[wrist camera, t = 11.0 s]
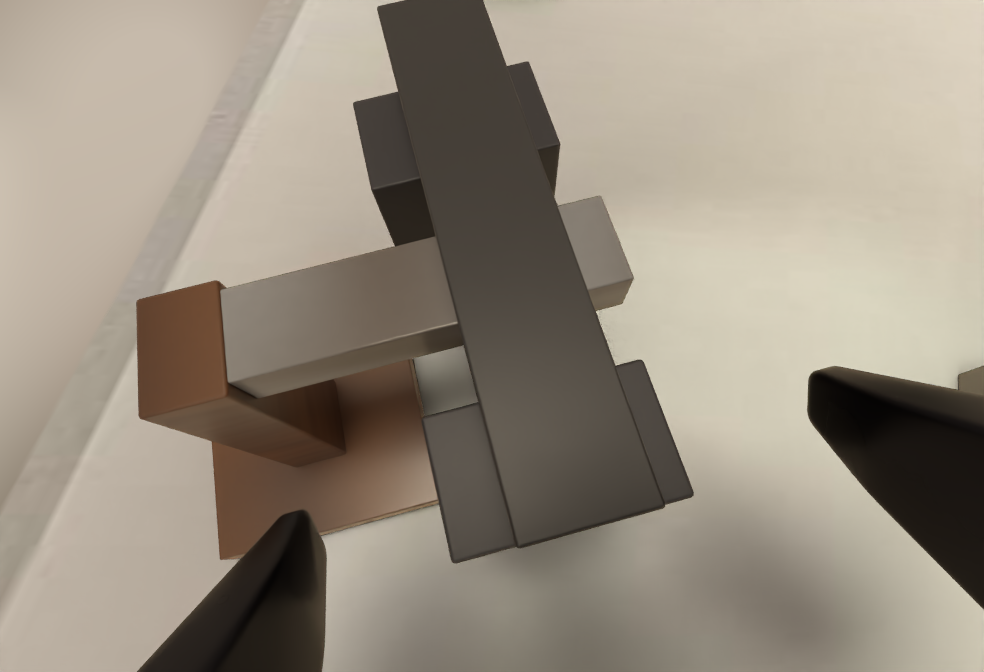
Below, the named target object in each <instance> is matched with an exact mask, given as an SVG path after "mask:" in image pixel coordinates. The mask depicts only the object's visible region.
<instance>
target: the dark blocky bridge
mask: <svg viewBox="0 0 984 672" xmlns="http://www.w3.org/2000/svg"><path fill="white" fill-rule="evenodd" d="M377 11H378V15H379V18H380V22H381V26H382V30H383V34H384V38H385V42H386V46H387V49H388V53H389V57H390V61H391V65H392V69H393V73H394V77H395V80H396V84H397V88H398V92H395V93H391V94H387V95H382V96H378V97H374V98H369V99H365V100H361V101H357V102H354V103H353V106H354V111H355V116H356V120H357V125H358V130H359V134H360V139H361V144H362V148H363V153H364V158H365V162H366V167H367V172H368V176H369V181H370V186H371V190H372V192H373V195H374V197H375V199H376V202H377V204H378V207H379V209H380V211H381V214H382V216H383V219H384V221H385V223H386V226H387V228H388V230H389V233H390V235H391V238H392V240H393V242H394V245H395V246H399V245H403V244H407V243H411V242H415V241H419V240H423V239H427V238H431V237H435V236H436V239H437V243H438V247H439V251H440V255H441V259H442V263H443V267H444V271H445V274H446V278H447V282H448V286H449V290H450V294H451V298H452V302H453V305H454V309H455V313H456V317H457V321H458V325H459V329H460V333H461V336H462V340H463V344H464V348H465V352H466V356H467V360H468V364H469V367H470V371H471V375H472V379H473V383H474V387H475V391H476V395H477V398H478V403H474V404H470V405H466V406H463V407H459V408H455V409H451V410H447V411H444V412H440V413H436V414H432V415H429V416H425V417H423V418H422V421H421V422H422V427H423V431H424V436H425V441H426V445H427V450H428V455H429V459H430V464H431V469H432V473H433V478H434V482H435V487H436V492H437V496H438V501H439V506H440V510H441V515H442V520H443V524H444V529H445V534H446V538H447V543H448V548H449V552H450V557H451V560H452V562H453V563H460V562H464V561H467V560H471V559H474V558H478V557H481V556H485V555H489V554H492V553H496V552H499V551H503V550H506V549H510V548H513V547H517V548H524V547H528V546H531V545H535V544H538V543H542V542H545V541H549V540H552V539H556V538H560V537H563V536H567V535H570V534H574V533H577V532H581V531H584V530H588V529H591V528H595V527H599V526H602V525H606V524H609V523H613V522H616V521H620V520H623V519H627V518H631V517H634V516H638V515H641V514H645V513H648V512H652V511H655V510H659V509H663V508H664V507H665V505H666V504H670V503H673V502H677V501H681V500H684V499H688V498H691V497H692V496H693V495H694V492H693V489H692V487H691V484H690V481H689V479H688V476H687V474H686V471H685V468H684V466H683V463H682V461H681V458H680V455H679V453H678V450H677V448H676V445H675V442H674V440H673V437H672V435H671V432H670V429H669V427H668V424H667V421H666V419H665V416H664V414H663V411H662V408H661V406H660V403H659V401H658V398H657V395H656V393H655V390H654V388H653V385H652V382H651V380H650V377H649V375H648V372H647V369H646V367H645V364H644V362H643V361H642V360H635V361H632V362H628V363H624V364H620V365H617V366H615V363H614V361H613V358H612V355H611V352H610V350H609V347H608V344H607V341H606V339H605V336H604V333H603V330H602V328H601V325H600V322H599V319H598V316H597V314H596V311H595V308H594V305H593V303H592V300H591V297H590V294H589V292H588V289H587V286H586V283H585V281H584V278H583V275H582V272H581V270H580V267H579V264H578V261H577V259H576V256H575V253H574V250H573V248H572V245H571V242H570V239H569V236H568V234H567V231H566V228H565V225H564V223H563V220H562V217H561V214H560V212H559V209H558V206H557V203H556V201H555V198H554V195H555V186H556V177H557V168H558V159H559V150H560V142H559V139H558V137H557V134H556V131H555V129H554V126H553V124H552V121H551V118H550V116H549V113H548V111H547V108H546V105H545V103H544V100H543V98H542V95H541V92H540V90H539V87H538V85H537V82H536V79H535V77H534V74H533V72H532V69H531V66H530V64H529V62H523V63H519V64H515V65H510V66H507V65H506V63H505V60H504V57H503V54H502V52H501V49H500V46H499V43H498V41H497V38H496V35H495V32H494V30H493V27H492V24H491V21H490V19H489V16H488V13H487V10H486V8H485V5H484V2H483V0H404V1H399V2H395V3H391V4H386V5H382V6H378V8H377Z"/></svg>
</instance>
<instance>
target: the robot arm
mask: <svg viewBox="0 0 984 672" xmlns="http://www.w3.org/2000/svg"><path fill="white" fill-rule="evenodd" d="M807 412H808V417H809V419H810V421H811V423H812V425H813V426H814V427H815V429H816V430H817V431H818V432H819V433H820V435H821V436H822V437H823V438H824V440H825V441H826V442H827V443H828V444H829V446H830V447H831V448H832V449H833V451H834V452H835V453H836V454H837V455H838V457H839V458H840V459H841V460H842V462H843V463H844V464H845V465H846V466H847V468H848V469H849V470H850V471H851V473H852V474H853V475H854V476H855V478H856V479H857V480H858V481H859V482H860V484H861V485H862V486H863V487H864V488H865V489H866V490H867V492H868V493H869V494H870V495H871V496H872V497H873V498H874V499H875V500H876V501H877V502H878V503H879V504H880V505H881V506H882V507H883V508H884V509H885V510H886V511H887V512H888V513H889V514H890V515H891V517H892V518H893V519H894V520H895V521H896V522H897V523H898V524H899V525H900V526H901V527H902V528H903V529H904V530H905V531H906V532H907V533H908V534H909V535H910V536H911V537H912V538H913V539H914V540H915V541H916V542H917V543H918V544H919V545H920V546H921V547H922V548H923V549H924V550H925V551H926V552H927V553H928V554H929V555H930V556H931V557H932V558H933V559H934V560H935V561H936V562H937V563H938V564H939V565H940V566H941V567H942V568H943V569H944V570H945V571H946V572H947V573H948V574H949V575H950V576H951V577H952V578H953V579H954V580H955V581H956V582H957V583H958V584H959V585H960V586H961V587H962V588H963V589H964V590H965V591H966V592H967V593H968V594H969V595H970V596H971V597H972V598H973V599H974V600H975V601H976V602H977V603H978V604H979V605H980V606H981V607H982V608H983V609H984V395H982V394H977V393H971V392H966V391H961V390H956V389H951V388H946V387H941V386H936V385H931V384H925V383H920V382H915V381H910V380H905V379H900V378H895V377H890V376H884V375H879V374H874V373H869V372H864V371H859V370H854V369H849V368H844V367H838V366H832V367H828V368H824V369H821V370H817V371H814V372H813V373H811V375H810V377H809V381H808V406H807ZM326 565H327V556H326V549H325V545H324V543H323V540H322V538H321V536H320V534H319V532H318V530H317V527H316V525H315V523H314V521H313V519H312V517H311V515H310V513H309V512H308V511H307V510H305V509H301V510H297V511H293V512H290V513H286V514H283V515H281V516H280V517H279V518H278V519H277V520H276V521H275V522H274V523H273V524H272V525H271V526H270V528H269V529H268V530H267V531H266V532H265V533H264V534H263V535H262V536H261V537H260V538H259V540H258V541H257V542H256V543H255V544H254V545H253V546H252V547H251V548H250V549H249V550H248V551H247V553H246V554H245V555H244V556H243V557H242V558H241V559H240V560H239V561H238V562H237V563H236V565H235V566H234V567H233V568H232V569H231V570H230V571H229V572H228V573H227V574H226V575H225V577H224V578H223V579H222V580H221V581H220V582H219V583H218V584H217V585H216V586H215V587H214V588H213V590H212V591H211V592H210V593H209V594H208V595H207V596H206V597H205V598H204V599H203V600H202V602H201V603H200V604H199V605H198V606H197V607H196V608H195V609H194V610H193V611H192V612H191V614H190V615H189V616H188V617H187V618H186V619H185V620H184V621H183V622H182V623H181V624H180V625H179V627H178V628H177V629H176V630H175V631H174V632H173V633H172V634H171V635H170V636H169V637H168V638H167V640H166V641H165V642H164V643H163V644H162V645H161V646H160V647H159V648H158V649H157V650H156V652H155V653H154V654H153V655H152V656H151V657H150V658H149V659H148V660H147V661H146V662H145V663H144V665H143V666H142V667H141V668H140V669H139V670H138V671H137V672H322V666H323V657H324V647H325V619H326Z"/></svg>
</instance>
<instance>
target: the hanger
mask: <svg viewBox="0 0 984 672" xmlns="http://www.w3.org/2000/svg"><path fill="white" fill-rule="evenodd" d="M558 209H559V212H560V214H561V217H562V220H563V223H564V225H565V228H566V231H567V234H568V236H569V239H570V242H571V245H572V248H573V250H574V253H575V256H576V259H577V261H578V264H579V267H580V270H581V272H582V275H583V278H584V281H585V283H586V286H587V289H588V292H589V294H590V297H591V300H592V303H593V305H594V308H595V311H597V310H601V309H605V308H609V307H612V306H616V305H620V304H622V303H623V301H624V299H625V297H626V294H627V292H628V290H629V288H630V286H631V283H632V281H633V279H634V277H633V274H632V272H631V269H630V267H629V264H628V262H627V259H626V257H625V254H624V252H623V249H622V247H621V244H620V242H619V239H618V237H617V234H616V232H615V229H614V227H613V224H612V222H611V219H610V217H609V214H608V212H607V209H606V207H605V204H604V202H603V199H602V197H601V196H596V197H592V198H588V199H584V200H580V201H576V202H572V203H568V204H564V205H560V206H558ZM136 306H137V356H138V407H139V417H140V419H143V420H146V421H149V422H152V423H155V424H159V425H162V426H165V427H168V428H171V429H175V430H178V431H181V432H184V433H187V434H191V435H194V436H197V437H200V438H203V439H207V440H210V441H212V451H213V465H214V480H215V494H216V509H217V523H218V538H219V552H220V559H221V560H226V559H237V558H241V557H243V556H244V555H245V554H246V553H247V551H248V550H249V549H250V548H251V547H252V546H253V545H254V544H255V543H256V542H257V541H258V540H259V538H260V537H261V536H262V535H263V534H264V533H265V532H266V531H267V530H268V529H269V528H270V526H271V525H272V524H273V523H274V522H275V521H276V520H277V519H278V518H279V517H280V516H281V515H283V514H286V513H290V512H293V511H297V510H301V509H305V510H307V511H308V512H309V513H310V515H311V517H312V519H313V521H314V523H315V525H316V527H317V530H318V532H319V534H320V536H321V535H325V534H329V533H332V532H336V531H340V530H343V529H347V528H351V527H354V526H358V525H361V524H365V523H369V522H372V521H376V520H380V519H383V518H387V517H391V516H394V515H398V514H402V513H405V512H409V511H413V510H416V509H420V508H423V507H427V506H431V505H434V504H438V503H439V501H438V496H437V492H436V487H435V482H434V478H433V473H432V469H431V464H430V459H429V455H428V450H427V445H426V441H425V436H424V431H423V427H422V422H421V421H422V418H423V417H425V415H424V410H423V406H422V401H421V397H420V392H419V387H418V383H417V378H416V374H415V369H414V364H413V360H412V358H416V357H420V356H424V355H428V354H431V353H435V352H439V351H443V350H447V349H451V348H454V347H458V346H462V345H464V344H463V340H462V336H461V333H460V329H459V325H458V321H457V317H456V313H455V309H454V305H453V302H452V298H451V294H450V290H449V286H448V282H447V278H446V274H445V271H444V267H443V263H442V259H441V255H440V251H439V247H438V243H437V239H436V236H435V237H431V238H427V239H423V240H419V241H415V242H411V243H407V244H403V245H399V246H395V247H391V248H386V249H382V250H378V251H374V252H370V253H366V254H362V255H358V256H354V257H350V258H346V259H342V260H338V261H334V262H330V263H326V264H322V265H318V266H314V267H310V268H306V269H302V270H298V271H294V272H290V273H286V274H282V275H278V276H274V277H270V278H266V279H262V280H258V281H254V282H250V283H246V284H242V285H238V286H234V287H230V288H226V287H225V286H224V285H223V284H222V283H221V282H219V281H211V282H207V283H203V284H199V285H195V286H191V287H187V288H183V289H179V290H175V291H171V292H167V293H163V294H159V295H155V296H150V297H146V298H142V299H139V300H137V302H136Z"/></svg>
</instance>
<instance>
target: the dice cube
mask: <svg viewBox="0 0 984 672" xmlns="http://www.w3.org/2000/svg"><path fill="white" fill-rule="evenodd" d="M959 390H961V391H966V392H971V393H977V394H982V395H984V366H981V367H979V368H976V369H973V370H970V371H968V372H965V373H962V374H959Z"/></svg>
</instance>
